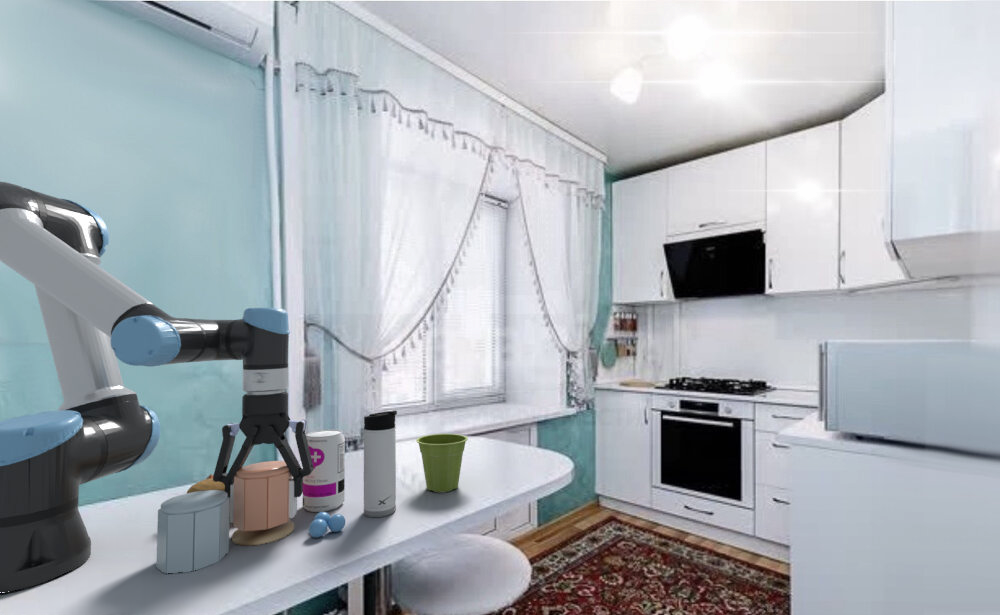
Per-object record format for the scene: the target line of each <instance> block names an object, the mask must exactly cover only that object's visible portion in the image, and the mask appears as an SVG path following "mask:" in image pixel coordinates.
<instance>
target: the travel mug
mask: <svg viewBox="0 0 1000 615" xmlns="http://www.w3.org/2000/svg"><path fill="white" fill-rule="evenodd" d="M397 414H398V412H397V410H391V411H381V412H376V413H371V414H369V415H364V417H363V424H364V425H363V514H364V515H365V516H366V517H369V518H382V517H387V516H390V515H392V514H394V513H395V512H396V510H397V507H396V506H397V503H396V502H397V501H396V500H397V498H396V497H397V494H396V493H397V483H396V482H397V481H396V478H397V477H396V476H397V475H396V474H397V473H396V472H397V471H396V470H397V468H396V466H397V463H396V462H397V461H396V460H397V458H396V453H397V451H396V449H397V448H396V447H397V446H396V445H397V443H396V440H397V439H396V438H397V436H396V434H397V433H396V428H397V427H396V415H397Z"/></svg>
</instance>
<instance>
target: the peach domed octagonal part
mask: <svg viewBox="0 0 1000 615" xmlns="http://www.w3.org/2000/svg"><path fill="white" fill-rule="evenodd" d="M292 477H293V476H292V474H291V472H290V471H289V469H288V467H287V465H286V463H285V461H284V460H270V461H263V462H262V461H261V462H256V463H252V464H251V463H250V464H248V465H243V467H242V468H241V469H239V470H238V471H236V475H235V476H234V523H232V524H233V527H234V528H236V529H240V530H242V531H254V530H265V529H270V528H272V527H275V526H278V525H281V524H283V523H286V522H288V521H289V520H290V521H291V518H289V481H290V480H291V479H292Z"/></svg>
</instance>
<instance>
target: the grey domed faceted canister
mask: <svg viewBox="0 0 1000 615" xmlns="http://www.w3.org/2000/svg"><path fill="white" fill-rule="evenodd" d="M186 493H187V492H186ZM186 493H183V494H180V495H176V496H174V497H173V496H172V497H171V498H169V499H166V500H164V501H163V502H162V503H160V508H158V510H157V525H156V526H157V528H156V530H157V532H156V535H157V536H156V563H155V564H156V565H155V567H157V568H156V569H158V570H159V571H160V570H161V572H162V573H163V572H164V573H163V574H165V575H169V574H168V573H173V574H179V573H178V572H183V573H192V572H196V571H199V570H201V569H203V568H206V567H209V566H212V565H214V564H217V563H219V562H221V560H222V559H223V558H225V556H226V555H225V554H226V553H227V554H228V553H229V551H230V518H229V511H230V498H229V497H227V495H228V494H227V492H225V491H221V490H206V491H197V492H192V493H187V494H186ZM195 570H196V571H195ZM191 571H192V572H191ZM166 573H167V574H166Z"/></svg>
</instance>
